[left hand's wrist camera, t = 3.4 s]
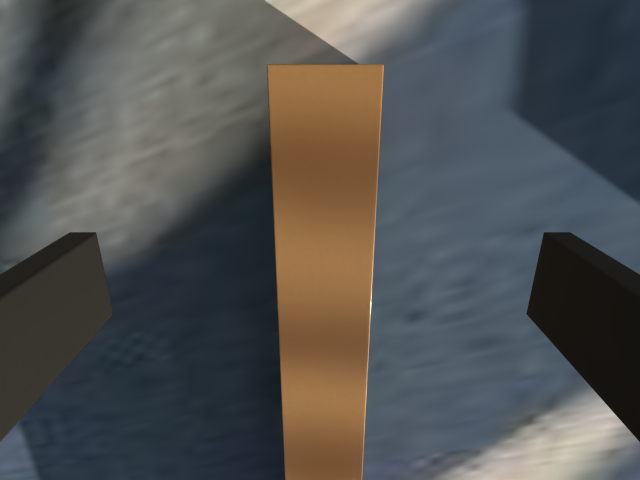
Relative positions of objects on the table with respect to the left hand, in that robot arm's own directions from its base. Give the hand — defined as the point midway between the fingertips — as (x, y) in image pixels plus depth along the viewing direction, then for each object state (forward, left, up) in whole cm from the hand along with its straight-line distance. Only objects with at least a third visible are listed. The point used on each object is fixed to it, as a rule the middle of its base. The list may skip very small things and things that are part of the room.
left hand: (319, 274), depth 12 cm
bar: (+8, +26, -15) cm, 31 cm away
